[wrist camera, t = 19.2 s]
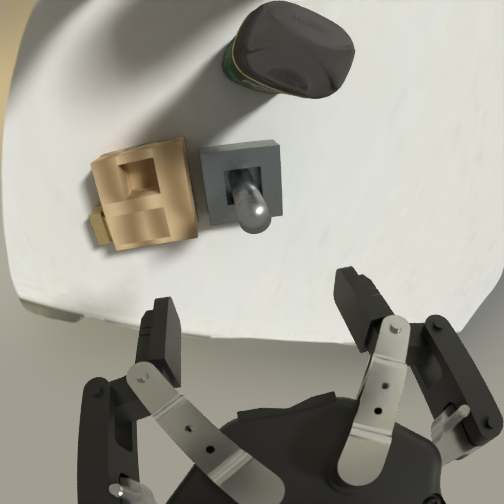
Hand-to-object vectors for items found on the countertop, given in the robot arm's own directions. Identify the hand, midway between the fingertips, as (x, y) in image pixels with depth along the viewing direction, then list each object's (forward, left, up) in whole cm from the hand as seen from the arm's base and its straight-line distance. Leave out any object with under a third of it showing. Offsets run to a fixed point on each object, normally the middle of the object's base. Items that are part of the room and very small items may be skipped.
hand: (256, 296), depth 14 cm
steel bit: (+4, +2, -28) cm, 28 cm away
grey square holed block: (+4, +2, -29) cm, 29 cm away
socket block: (+3, -11, -29) cm, 31 cm away
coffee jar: (-12, +6, -29) cm, 33 cm away
